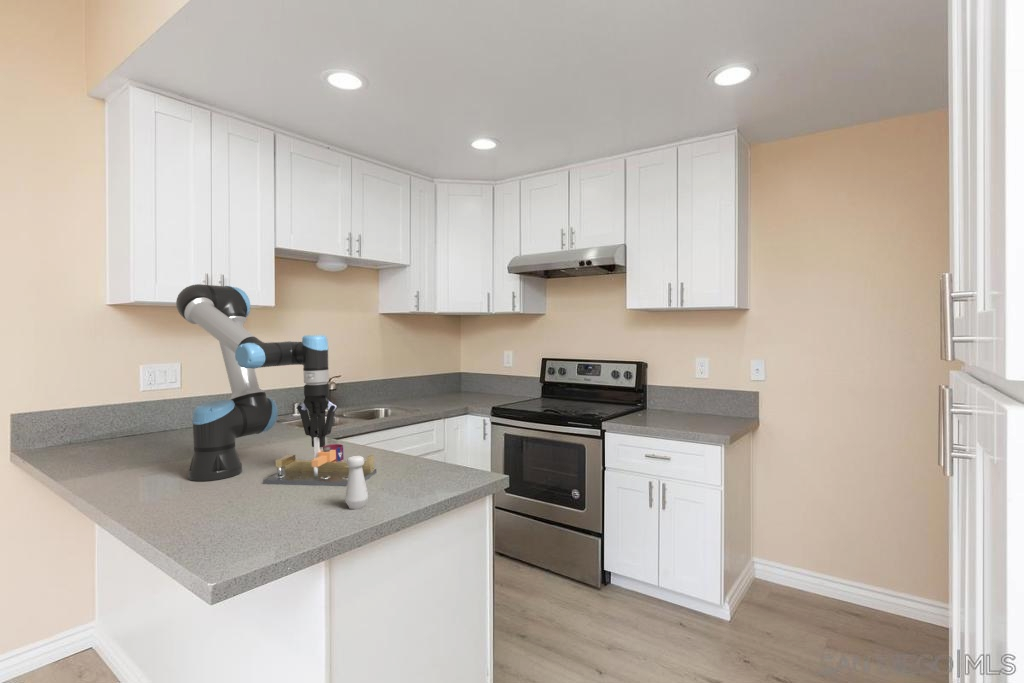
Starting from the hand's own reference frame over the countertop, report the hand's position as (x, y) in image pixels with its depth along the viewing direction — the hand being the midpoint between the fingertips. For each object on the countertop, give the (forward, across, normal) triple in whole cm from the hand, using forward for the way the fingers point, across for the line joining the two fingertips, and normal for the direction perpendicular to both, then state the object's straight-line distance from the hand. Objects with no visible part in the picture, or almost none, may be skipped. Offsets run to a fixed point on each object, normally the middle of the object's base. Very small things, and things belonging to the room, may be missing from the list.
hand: (318, 457), depth 163 cm
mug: (+6, -2, +10) cm, 12 cm away
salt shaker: (+6, +25, -27) cm, 38 cm away
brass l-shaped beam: (+4, +3, -3) cm, 6 cm away
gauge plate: (+6, +3, -4) cm, 7 cm away
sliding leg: (+4, +3, -3) cm, 5 cm away
